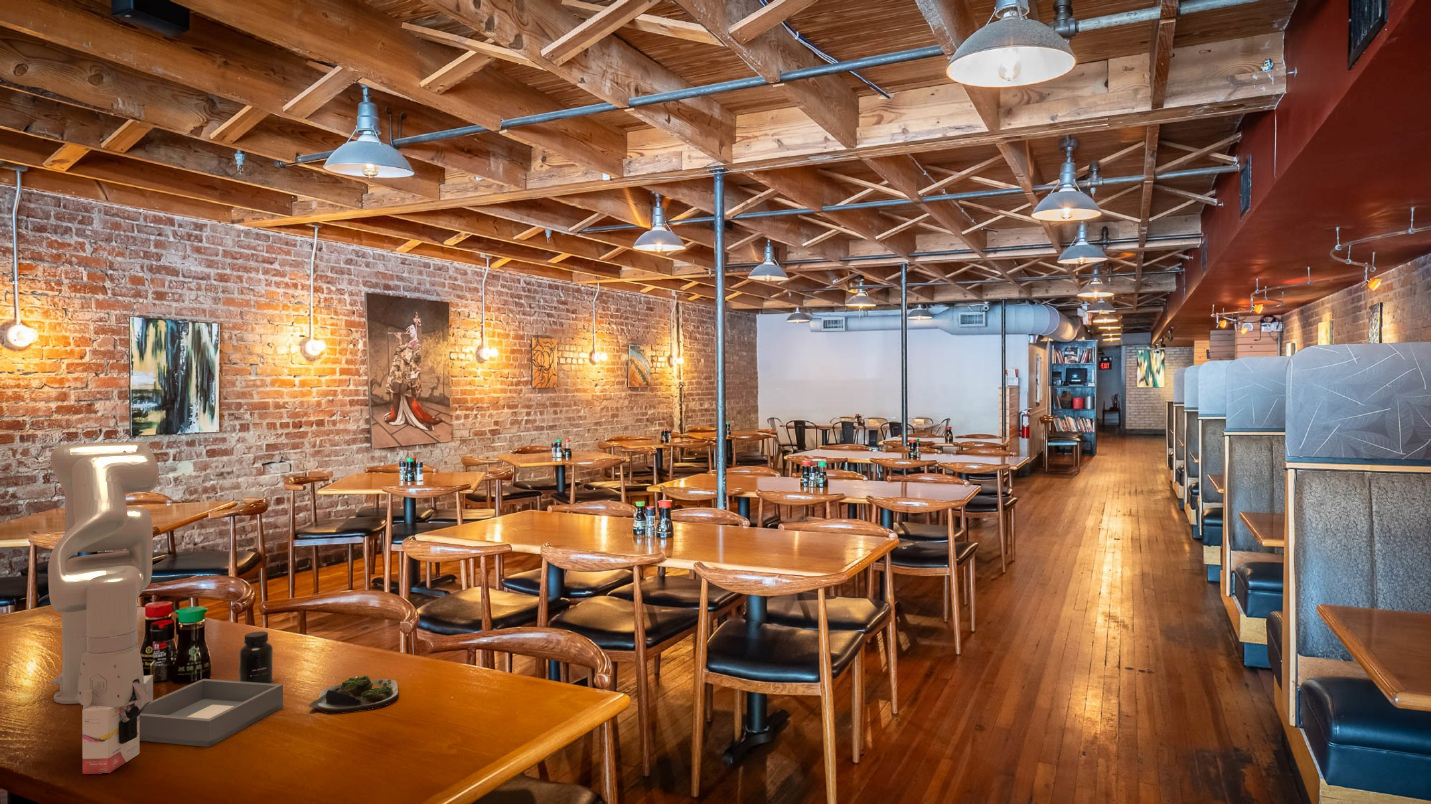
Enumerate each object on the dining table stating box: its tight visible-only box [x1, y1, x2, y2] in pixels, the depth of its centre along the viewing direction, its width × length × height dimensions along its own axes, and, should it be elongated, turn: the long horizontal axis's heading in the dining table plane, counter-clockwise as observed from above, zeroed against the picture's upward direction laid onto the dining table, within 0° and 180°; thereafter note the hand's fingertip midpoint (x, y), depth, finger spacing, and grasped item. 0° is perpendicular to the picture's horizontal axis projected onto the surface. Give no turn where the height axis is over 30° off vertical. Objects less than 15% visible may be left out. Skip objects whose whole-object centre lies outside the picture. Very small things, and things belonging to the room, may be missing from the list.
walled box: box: [139, 678, 284, 748], centre depth 168 cm, size 20×20×5 cm
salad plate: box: [308, 675, 399, 714], centre depth 182 cm, size 19×18×5 cm
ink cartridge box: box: [81, 689, 140, 775], centre depth 149 cm, size 9×5×15 cm, turn 3°
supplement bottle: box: [238, 631, 274, 684], centre depth 189 cm, size 7×7×12 cm
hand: (113, 738), depth 149 cm, fingers closed on ink cartridge box, 5 cm apart
